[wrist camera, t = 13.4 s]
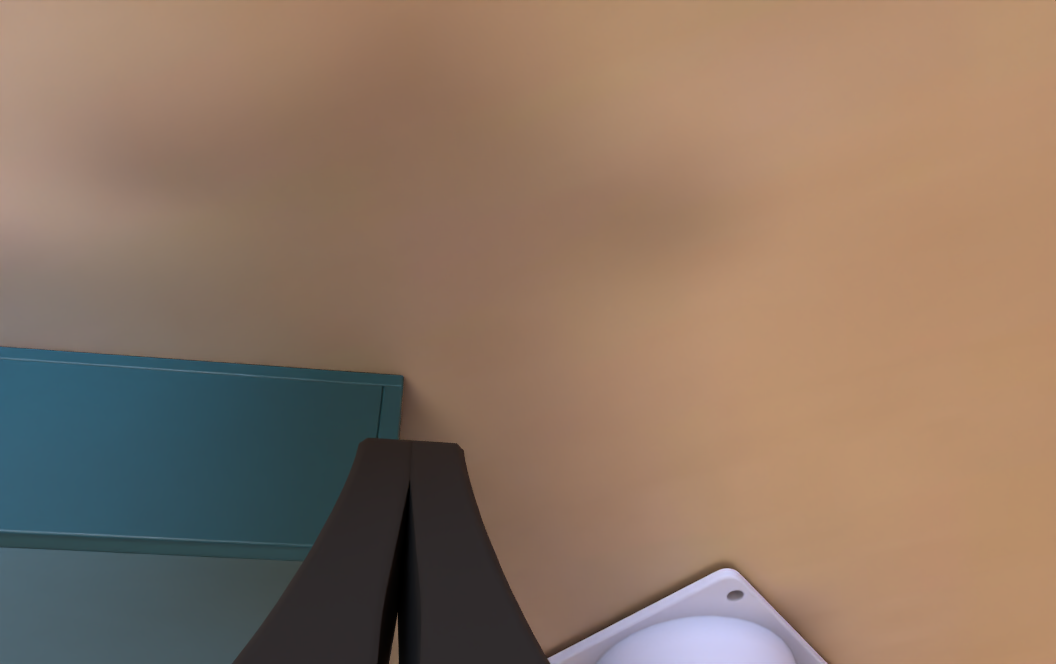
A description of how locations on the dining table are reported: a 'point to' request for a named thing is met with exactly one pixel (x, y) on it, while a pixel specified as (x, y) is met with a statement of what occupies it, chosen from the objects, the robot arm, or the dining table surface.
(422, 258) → the dining table surface
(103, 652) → the cool box flap
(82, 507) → the teal box
